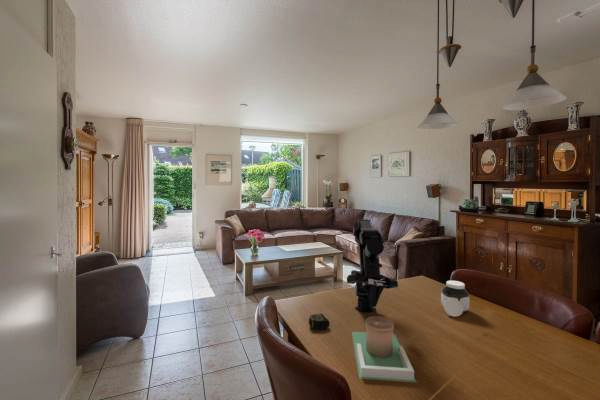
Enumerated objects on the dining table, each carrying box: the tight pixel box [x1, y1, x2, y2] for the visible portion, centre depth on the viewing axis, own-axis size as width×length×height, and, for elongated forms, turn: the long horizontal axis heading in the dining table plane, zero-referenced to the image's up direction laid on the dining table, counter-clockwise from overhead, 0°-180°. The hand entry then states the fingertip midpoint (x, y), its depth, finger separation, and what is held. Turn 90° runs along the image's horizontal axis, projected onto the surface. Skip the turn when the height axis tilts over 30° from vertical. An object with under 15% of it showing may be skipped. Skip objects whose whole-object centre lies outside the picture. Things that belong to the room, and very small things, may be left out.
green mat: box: [351, 331, 418, 383], centre depth 89 cm, size 25×15×1 cm, turn 174°
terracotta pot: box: [365, 315, 395, 358], centre depth 90 cm, size 8×8×9 cm
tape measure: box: [308, 313, 330, 330], centre depth 107 cm, size 7×7×4 cm
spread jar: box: [440, 280, 470, 317], centre depth 119 cm, size 12×11×12 cm
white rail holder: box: [357, 343, 415, 380], centre depth 83 cm, size 12×14×2 cm
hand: (374, 306), depth 100 cm, fingers closed
